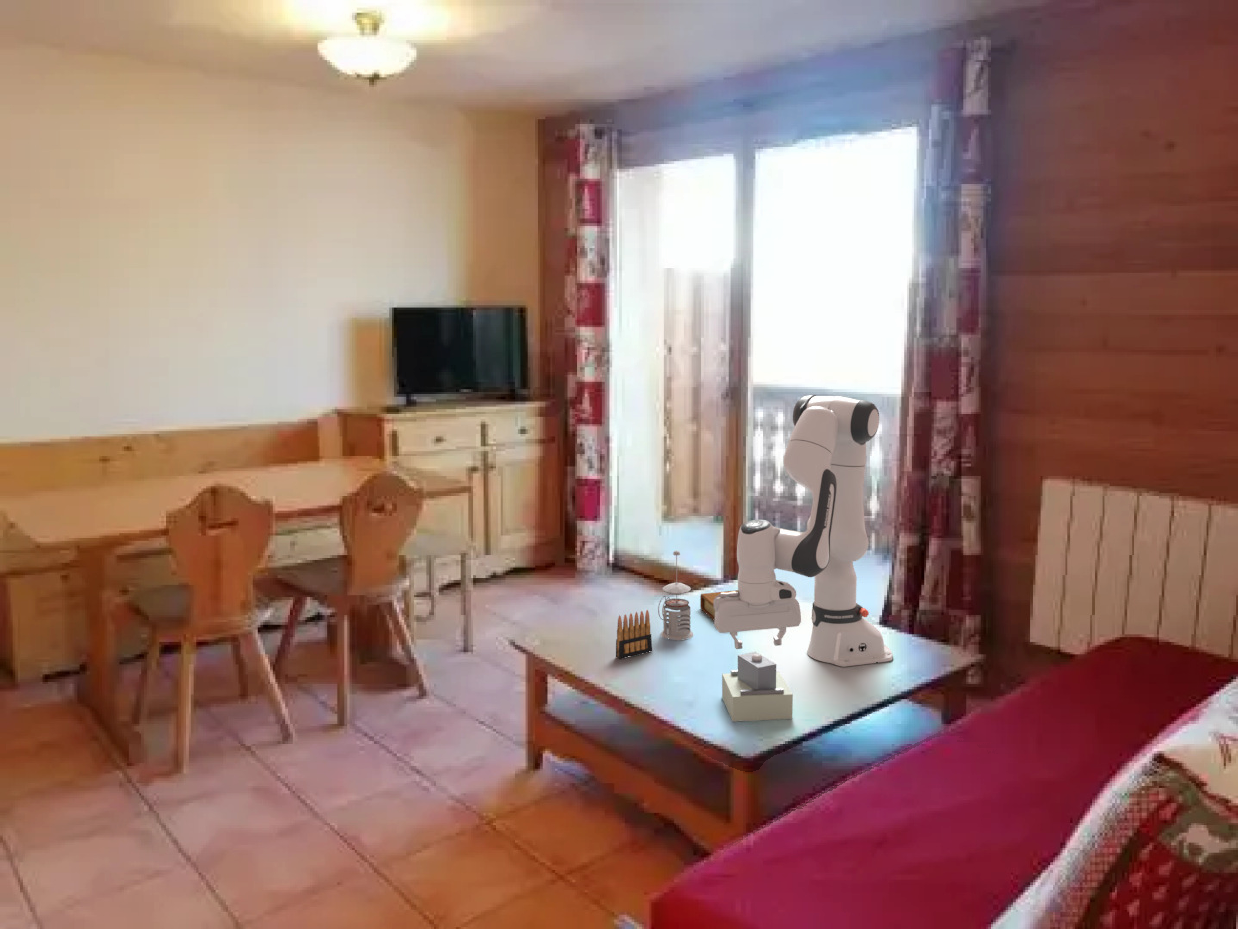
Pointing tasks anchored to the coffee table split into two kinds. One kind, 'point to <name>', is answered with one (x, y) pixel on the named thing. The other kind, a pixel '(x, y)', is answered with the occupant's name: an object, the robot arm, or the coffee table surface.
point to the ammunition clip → (633, 636)
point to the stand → (756, 699)
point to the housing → (756, 671)
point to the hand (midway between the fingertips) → (758, 646)
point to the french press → (676, 627)
